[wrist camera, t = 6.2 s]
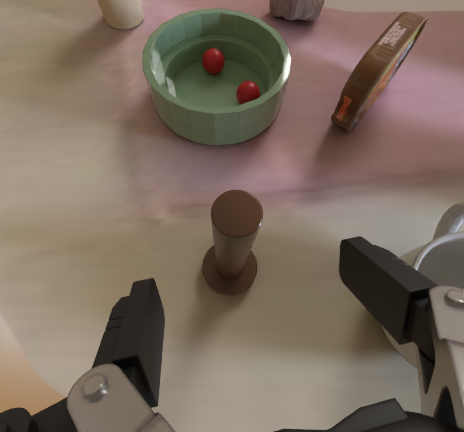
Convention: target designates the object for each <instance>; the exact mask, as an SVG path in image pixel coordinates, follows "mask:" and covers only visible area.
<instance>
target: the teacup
mask: <svg viewBox="0 0 464 432" xmlns="http://www.w3.org/2000/svg"><path fill="white" fill-rule="evenodd" d="M463 220H464V201H463V202H460V203H457V204H455V205H453V206H452V207H450V208H449V209H448V210H447V211H446V212H445V213H444V215H443V216H442V218H441V220H440V221H439V223H438V226H437V229H436V231H435V234H434V237H433V240H432V241H431V242H429V243H428V244H426V245H423V246H421V247H419V248H416V249H414V250H412V251H410V252H408V253H406V254H404V255H402V256H401V257H399V259H401V260H403V261H404V262H406V263H407V265H410V266H411V267H413V268H414V269H416V270H417V271H418V272H420V273H421V274H423V275H424V276H425V277H427V278H428V279H430V280H431V281H433V282H434V283H435V284H437V285H438V286H442V285H446V286H454V287H458V288H462V289H464V232H457V229H458V228H459V226H460V224H461V223H462V222H463ZM381 326H382V325H381ZM382 328H383V330H384V332H385V334H386V336H387V337H388V339H389V341H390V342H391V343H392V345H393V346H394V347H395V349H396V350H397V351H398V352H399V353H400V354H401V355H402V356H403V357H404V358H405V359H406V360H407V361H408V362H410V363H411V364H412V365H413V366H415V367H416V368H417V360H416V348H417V346H416V345H415V343H414V342H410V343H406V344H403V345H399V344H398V343H397V342H396V341H395V340H394V338H393V337H392V336H391V335H390V334H389V333H388V332H387V331H386V330H385V329H384V327H383V326H382Z"/></svg>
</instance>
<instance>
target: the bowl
mask: <svg viewBox="0 0 464 432" xmlns="http://www.w3.org/2000/svg"><path fill="white" fill-rule="evenodd" d="M210 48H216V49H218V50H220V51H221V52H222V54H223V56H224V59H225V64H224V68H223V69H222V71H221V72H220V73H218V74H210V73H208V72H207V71H206V70H205V69H204V67H203V65H202V57H203V54H204V53H205V51H206V50H208V49H210ZM290 65H291V57H290V53H289V50H288V47H287V44H286V42H285V41H284V40H283V38H282V37H281V36H280V35H279V33H278V32H277V31H276V30H275V29H274V28H272V27H271V26H269V25H268V24H266V23H265V22H264V21H262V20H261V19H259V18H257V17H254V16H251V15H249V14H246V13H243V12H240V11H233V10H227V9H200V10H195V11H191V12H188V13H184V14H180V15H178V16H176V17H174V18H172V19H170V20H169V21H167V22H165V23H163V24H162V25H161V26H160V27H159V28H158V29H157V30H156V31H155V32H154V33H153V34H152V35H151V36H150V37H149V39H148V41H147V43H146V45H145V48H144V50H143V72H144V75H145V78H146V81H147V84H148V87H149V91H150V94H151V97H152V100H153V103H154V106H155V108H156V110H157V112H158V114H159V116H160V118H161V120H162V121H163V122H164V123H165V124H166V125H167V126H168V127H169V128H170V129H171V130H172V131H173V132H174V133H176V134H178V135H180V136H182V137H184V138H187V139H189V140H191V141H193V142H197V143H202V144H208V145H214V146H215V145H227V144H236V143H240V142H243V141H245V140H248V139H251V138H253V137H256V136H257V135H258V134H260V133H261V132H262V131H263V130H265V129H266V128H267V127H269V126H270V125H271V124H272V122H273V121H274V119H275V117H276V116H277V114H278V112H279V111H280V107H281V103H282V100H283V96H284V92H285V89H286V85H287V81H288V78H289V73H290ZM245 81H252V82H254V83H256V84H257V85H258V87H259V89H260V97H259V98H258V99H255V100H253V101H250V102H247V103H244V104H240V103H239V102H238V100H237V97H236V91H237V88H238V87H239V85H240V84H241V83H243V82H245Z"/></svg>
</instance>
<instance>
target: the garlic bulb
mask: <svg viewBox="0 0 464 432" xmlns="http://www.w3.org/2000/svg"><path fill="white" fill-rule="evenodd" d="M323 4H324V0H270V11H271V13H272V14H273V15H274V16H276V17H281V16H283V17H284V18H285V19H287V20H291V21H292V20H295V19H300V20H306V21H312V20H314V19H316V18H317V17H318V16H319V14H320V12H321V9H322V7H323Z"/></svg>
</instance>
